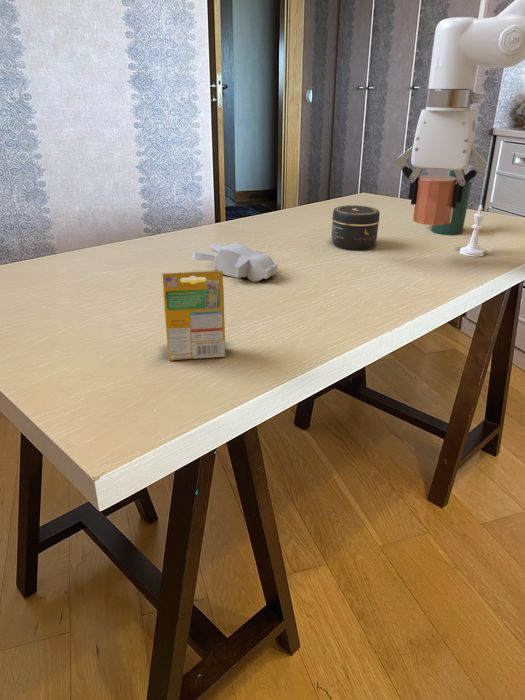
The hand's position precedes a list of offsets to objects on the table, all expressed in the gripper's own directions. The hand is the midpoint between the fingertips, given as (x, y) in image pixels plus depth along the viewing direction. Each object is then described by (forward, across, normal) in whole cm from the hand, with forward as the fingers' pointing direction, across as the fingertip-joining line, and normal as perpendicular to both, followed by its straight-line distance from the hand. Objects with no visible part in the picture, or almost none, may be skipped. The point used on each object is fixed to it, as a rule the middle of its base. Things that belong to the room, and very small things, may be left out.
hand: (434, 204), depth 100 cm
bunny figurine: (+11, +31, +23) cm, 40 cm away
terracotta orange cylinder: (+3, 0, 0) cm, 3 cm away
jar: (+11, +17, -6) cm, 21 cm away
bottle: (+12, 0, -28) cm, 30 cm away
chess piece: (+12, -8, -11) cm, 18 cm away
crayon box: (+11, +21, +54) cm, 59 cm away
